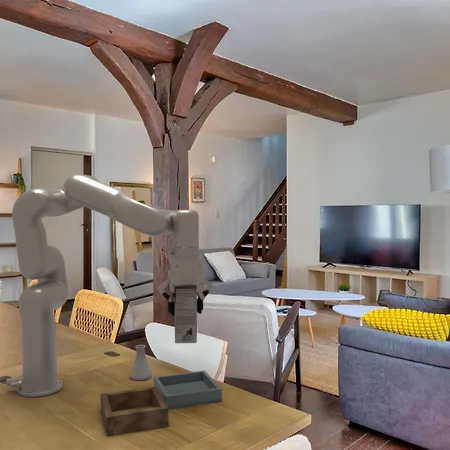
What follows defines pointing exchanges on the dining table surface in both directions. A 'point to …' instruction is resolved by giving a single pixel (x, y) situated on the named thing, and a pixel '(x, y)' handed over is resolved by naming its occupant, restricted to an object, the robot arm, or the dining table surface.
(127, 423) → the walnut tray
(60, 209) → the robot arm
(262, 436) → the dining table surface
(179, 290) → the coffee box
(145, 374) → the flask
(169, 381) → the slate tray
